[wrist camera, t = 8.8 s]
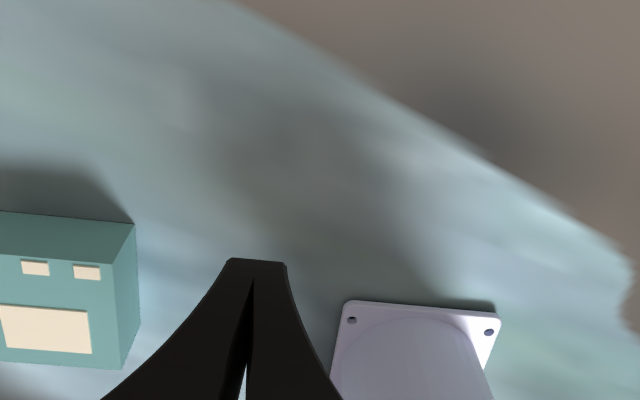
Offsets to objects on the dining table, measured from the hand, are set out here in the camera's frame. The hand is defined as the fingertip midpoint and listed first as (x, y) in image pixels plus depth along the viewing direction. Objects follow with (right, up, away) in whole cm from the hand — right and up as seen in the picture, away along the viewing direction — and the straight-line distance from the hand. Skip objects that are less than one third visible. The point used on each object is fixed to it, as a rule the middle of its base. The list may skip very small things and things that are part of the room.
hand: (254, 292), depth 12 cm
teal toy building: (-10, -1, +12) cm, 16 cm away
